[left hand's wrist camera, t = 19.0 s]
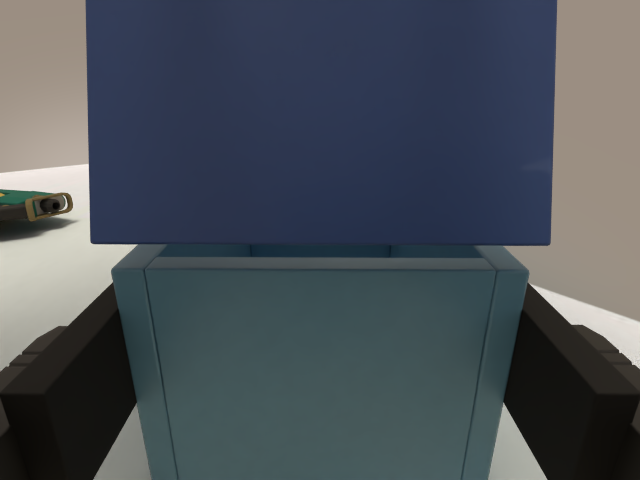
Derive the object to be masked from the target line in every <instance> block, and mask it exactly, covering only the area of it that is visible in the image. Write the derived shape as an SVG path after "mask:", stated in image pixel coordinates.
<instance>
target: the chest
mask: <svg viewBox="0 0 640 480" xmlns="http://www.w3.org/2000/svg"><path fill="white" fill-rule="evenodd" d="M111 274H112V279H113V284H114V289H115V294H116V299H117V304H118V309H119V314H120V319H121V324H122V329H123V334H124V339H125V344H126V349H127V354H128V359H129V364H130V369H131V374H132V380H133V385H134V390H135V395H136V400H137V407H138V412H139V417H140V422H141V427H142V432H143V438H144V443H145V448H146V453H147V458H148V463H149V468H150V473H151V479H152V480H488V476H489V471H490V466H491V461H492V456H493V451H494V446H495V441H496V436H497V431H498V426H499V421H500V417H501V412H502V407H503V402H504V397H505V392H506V387H507V382H508V377H509V372H510V367H511V362H512V357H513V352H514V347H515V342H516V337H517V332H518V327H519V322H520V318H521V313H522V308H523V303H524V298H525V293H526V288H527V283H528V278H529V270H528V269H527V268H526V267H525V266H523V265H522V264H521V263H520V262H519V261H518V260H517V259H516V258H515V257H514V256H513V255H512V254H511V253H510V252H509V251H507V250H506V249H505V248H504V247H503V246H461V245H181V244H138V245H137V246H136V247H135V248H134V249H133V250H132V251H131V252H130V253H128V254H127V255H126V256H125V257H124V258H123V259H122V260H121V261H120V262H119V263H118V264H117V265H115V266H114V267H113V268H112V270H111Z"/></svg>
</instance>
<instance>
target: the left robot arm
mask: <svg viewBox="0 0 640 480" xmlns="http://www.w3.org/2000/svg"><path fill="white" fill-rule="evenodd" d="M136 403H137V400H136V395H135V390H134V385H133V380H132V374H131V369H130V364H129V359H128V354H127V349H126V344H125V339H124V334H123V329H122V324H121V319H120V314H119V309H118V304H117V299H116V294H115V289H114V284H113V283H112V284H111V285H110V286H109V287H108V288H107V289H106V290H105V291H104V292H102V293H101V294H100V295H99V296H98V297H97V298H96V299H95V300H94V301H93V302H92V303H91V304H90V305H89V306H88V307H87V308H86V309H85V310H84V311H83V312H82V313H81V314H80V315H79V316H78V317H77V318H76V319H75V320H74V321H73V322H72V323H71V324H70V325H69V326H58V327H56V328H55V329H53V330H51V331H49V332H47V333H46V334H44V335H42V336H40V337H38V338H37V339H36V340H35V341H34V342H33V343H32V344H30V345H29V346H28V347H27V348H26V349H25V350H24V351H23V352H22V355H18V356H17V357H16V358H15V359H14V360H13V361H12V362H11V363H10V365H9V367H5V368H4V369H3V370H2V371H1V372H0V480H93V479H94V477H95V475H96V473H97V472H98V470H99V468H100V466H101V465H102V463H103V461H104V459H105V458H106V456H107V454H108V452H109V451H110V449H111V447H112V445H113V443H114V442H115V440H116V438H117V436H118V435H119V433H120V431H121V429H122V428H123V426H124V424H125V422H126V421H127V419H128V417H129V415H130V414H131V412H132V410H133V408H134V407H135V405H136ZM504 404H505V406H506V407H507V409H508V411H509V413H510V414H511V416H512V418H513V420H514V421H515V423H516V425H517V427H518V429H519V430H520V432H521V434H522V436H523V437H524V439H525V441H526V443H527V444H528V446H529V448H530V450H531V451H532V453H533V455H534V457H535V458H536V460H537V462H538V464H539V465H540V467H541V469H542V471H543V472H544V474H545V476H546V478H547V480H640V369H639V368H638V367H637V366H635V365H632V362H631V361H630V360H629V359H628V358H627V357H626V356H624V355H623V354H622V353H619V350H618V349H617V348H616V347H614V346H613V345H612V344H611V343H610V342H609V341H608V340H607V339H606V338H604V337H603V336H601V335H600V334H598V333H596V332H594V331H592V330H591V329H589V328H587V327H585V326H583V325H571V324H570V323H569V322H568V321H567V320H566V319H565V318H564V317H563V316H562V315H561V314H560V313H559V312H558V311H557V310H556V309H554V308H553V307H552V306H551V305H550V304H549V303H548V302H547V301H546V300H545V299H544V298H543V297H542V296H541V295H540V294H539V293H538V292H537V291H536V290H535V289H534V288H533V287H532V286H531V285H530V284H529V283H527V288H526V293H525V298H524V303H523V308H522V313H521V318H520V322H519V327H518V332H517V337H516V342H515V347H514V352H513V357H512V362H511V367H510V372H509V377H508V382H507V387H506V392H505V397H504Z"/></svg>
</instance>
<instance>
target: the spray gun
mask: <svg viewBox="0 0 640 480" xmlns="http://www.w3.org/2000/svg"><path fill="white" fill-rule="evenodd" d="M62 195H64V196H66V199H67V203H68V207H67V209H65V210H62V209H63V208H64V207H65V198H64V197H63V196H62ZM72 208H73V202H72V198H71V196H70V195H69V194H68V193H57V194H54V193H45V192H37V191H17V190H2V189H0V221H1V220H13V219H26V218H28V219H29V221H36V220H38V219H42V218H46V217H50V216H55V215H59V214H63V213H67V212H69V211H71V210H72ZM59 210H62V211H59ZM49 212H50V213H49Z"/></svg>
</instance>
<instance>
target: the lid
mask: <svg viewBox="0 0 640 480" xmlns="http://www.w3.org/2000/svg"><path fill="white" fill-rule="evenodd" d="M556 23H557V0H86V41H87V42H86V43H87V92H88V142H89V191H90V241H91V243H92V244H181V245H461V246H548V245H550V242H551V206H552V169H553V133H554V96H555V59H556Z"/></svg>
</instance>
